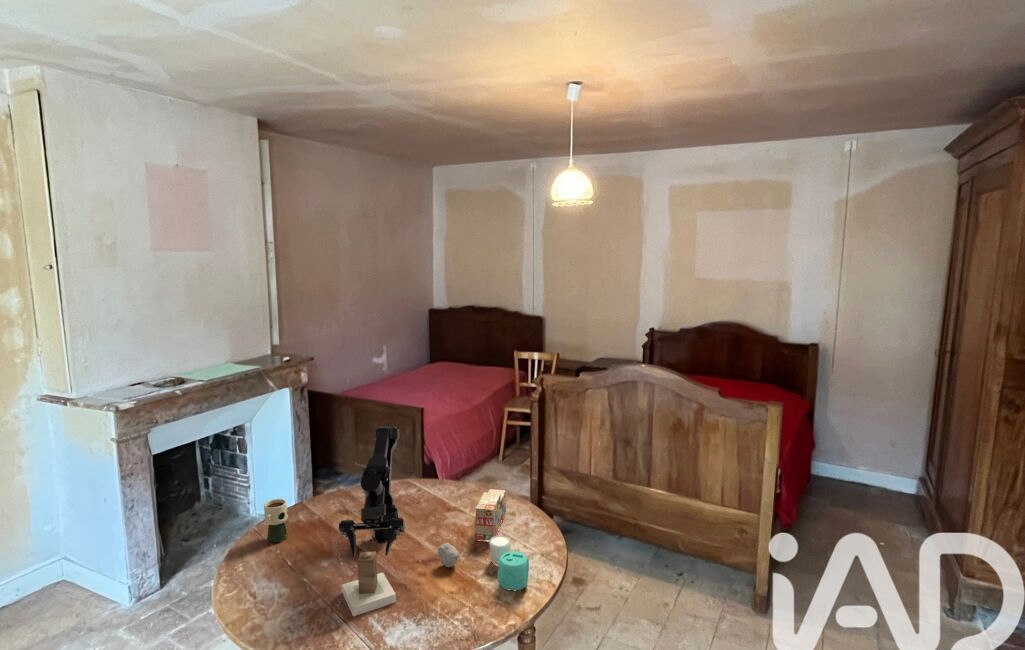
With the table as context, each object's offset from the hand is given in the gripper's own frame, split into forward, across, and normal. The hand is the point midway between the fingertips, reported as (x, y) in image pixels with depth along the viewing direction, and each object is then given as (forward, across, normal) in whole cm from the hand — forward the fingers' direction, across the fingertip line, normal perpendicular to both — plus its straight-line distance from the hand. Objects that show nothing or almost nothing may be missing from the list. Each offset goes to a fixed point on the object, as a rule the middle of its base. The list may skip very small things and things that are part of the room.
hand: (370, 556), depth 161 cm
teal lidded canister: (+8, +42, +6) cm, 43 cm away
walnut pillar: (+8, 0, +2) cm, 8 cm away
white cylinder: (0, +38, +14) cm, 41 cm away
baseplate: (+10, 0, +4) cm, 11 cm away
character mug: (-14, -36, +29) cm, 48 cm away
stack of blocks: (-15, +37, +30) cm, 50 cm away
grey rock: (+1, +22, +14) cm, 26 cm away
